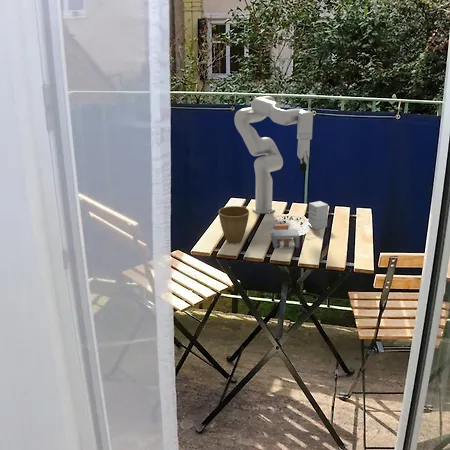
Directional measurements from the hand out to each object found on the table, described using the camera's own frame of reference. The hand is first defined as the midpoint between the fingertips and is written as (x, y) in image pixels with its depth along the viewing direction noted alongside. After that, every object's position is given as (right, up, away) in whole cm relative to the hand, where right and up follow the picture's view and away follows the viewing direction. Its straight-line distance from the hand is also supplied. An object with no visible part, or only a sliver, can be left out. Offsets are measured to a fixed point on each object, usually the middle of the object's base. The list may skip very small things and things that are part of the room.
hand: (303, 170), depth 291 cm
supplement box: (+8, -29, +6) cm, 31 cm away
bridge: (-11, -36, -12) cm, 40 cm away
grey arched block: (-12, -36, -12) cm, 40 cm away
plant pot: (-36, -36, -13) cm, 53 cm away
